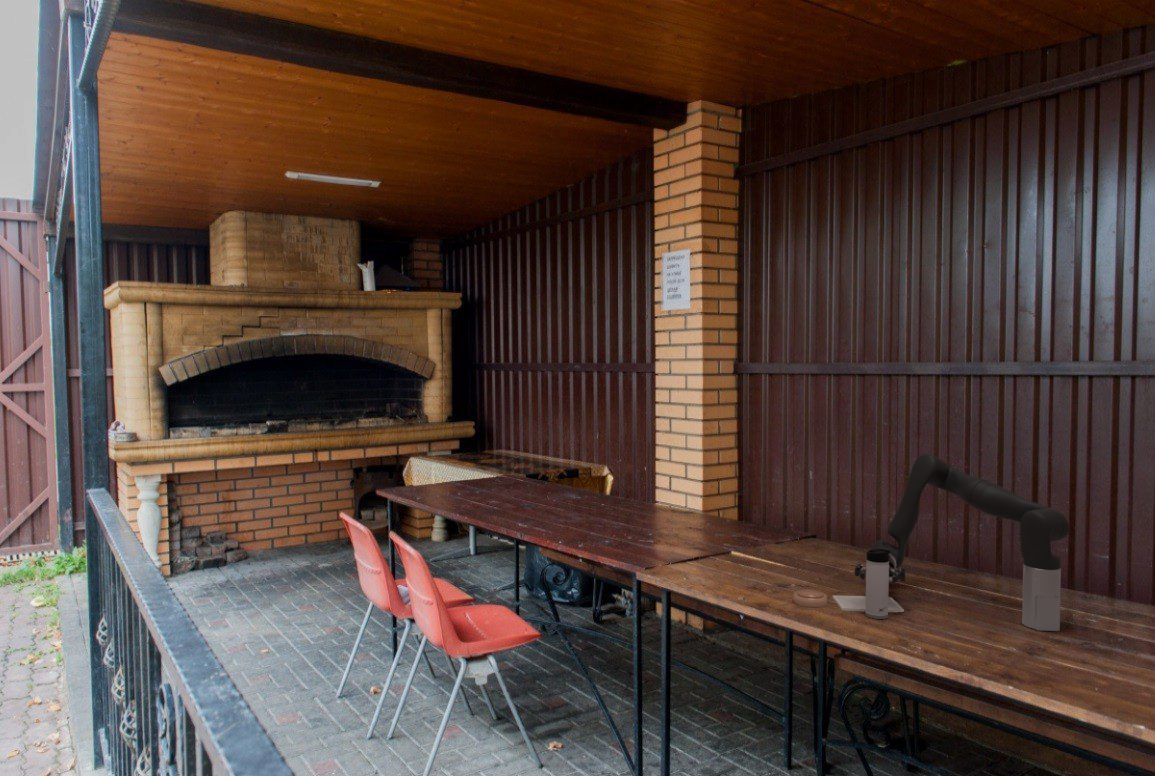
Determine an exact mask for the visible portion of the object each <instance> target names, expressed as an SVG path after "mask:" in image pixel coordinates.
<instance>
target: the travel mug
mask: <svg viewBox="0 0 1155 776" xmlns="http://www.w3.org/2000/svg"><path fill="white" fill-rule="evenodd" d="M889 553H891V552H890V550H886V549H873V550H871V549H869V550H868V551H866V560H865V567H866V571H865V574H866V577H865V596H866V608H865V609H866V610H865V611H864V612H865V616H866V617H867V618H869V617H870V618H869V619H872V618H874V619H873V620H878V619H883V620H887V619H888V618H889V612H888V597H889V584H890V580H889V559H888V558H889ZM886 618H887V619H886Z"/></svg>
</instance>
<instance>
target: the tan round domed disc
mask: <svg viewBox="0 0 1155 776" xmlns="http://www.w3.org/2000/svg"><path fill="white" fill-rule="evenodd" d="M793 603H794V604H796V605H798V606H800V607H806V608H823V607H826V606H827V605H828V595H827V594H826V593H824V592H822V591H820V590H818V589H817V590H816V589H813V588H812V589H811V588H810V589H809V588H806V589H805V588H804V589H798V590H796V591H794V592H793Z"/></svg>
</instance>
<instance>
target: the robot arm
mask: <svg viewBox="0 0 1155 776" xmlns="http://www.w3.org/2000/svg"><path fill="white" fill-rule="evenodd" d="M909 473H910V474H909V477H908V479H907V482H906V486H905V488H904V492H903V495H902V498H901V500H900V503H899V506H898V508H897V510H896V512H895V514H894V515H893V518H892V520H891V522H890V524H889V525H888V527H887V529H886V530H887V534H888V535H889V536H890V537H891V538H893V539H894V540H895V541H896V542H897V546H896V545H893V544H892V543H890V542H887V541H886V540H884V539H883V540H882V539H879V540H876V541H875V542H873V543H872V545H871V547H870V550H873V549H886V550H890V552H891V553H889V558H888V559H889V581H891V582H892V584H896V583H898V582H899V580H900V581H901V582H906V568H904V567H902V568H900V567H901V566H902V565H903V563H904V561H905V560H904V559H905V555H906V549H907V545H908V541H909V538H910V537H911V535H912V533H913V531H914V529H915V527H916V525H917V523H918V520H919V515H920V514H919V513H920V504H921V496H922V493H923V490H924V489H925V487H926V485H927V484H928V485H929V486H932V487H935V488H938V489H941V490H944V491H946V492H949V493H952V494H954V495H955V496H957V497H958V498H959V499H961V500H962V501H964V503H966V504H968V505H969V506H971V507H973V508H975V509H976V510H979V511H980V512H983V513H984V514H988V515H990V516H994V517H997V518H1002V519H1004V520H1005V519H1006V520H1010V521H1013V522H1014V521H1015V522H1019V523H1020V524H1019V543H1020V554H1021V556H1022V559H1023V563H1022V564H1023V565H1022V566H1023V567H1022V568H1023V570H1022V602H1021V603H1022V604H1021V605H1022V610H1021V611H1022V614H1021V618H1022V620H1021V624H1022V625H1023V626H1025V627H1027V628H1029V629H1034V630H1036V631H1045V632H1060V630H1061V628H1060V627H1061V600H1062V599H1061V579H1062V578H1061V576H1062V573H1061V571H1062V560H1061V558H1060V557H1059V556H1058V555H1055V554H1053V553H1052V550H1051V549H1052V548H1051V545H1052V544H1051V543H1053V542H1057V541H1061V540H1063V539H1065V538H1066V537H1067V536H1068V535H1069V534H1070V531H1071V530H1070V528H1071V527H1070V522H1069V521H1068V519H1067V517H1066V516H1065V515H1064V514H1063V513H1062V512H1060V511H1059V510H1057V509H1054V508H1052V507H1049V506H1045V505H1043V504H1039V503H1038V502H1034V501H1031V500H1029V499H1027V498H1024V497H1022V496H1020V495H1018V494H1016V493H1015V492H1012V491H1010V490H1008V489H1006V488H1004V487H1002V486H1000V485H997V483H996V484H995V483H994V482H992V481H990V480H987V479H985V478H982V477H978V476H974V475H970V474H966V473H965V472H962V471H961V470H959V469H957V468H956V467H955V466H952V465H951V464H949V463H948V462H947V461H945V460H943V459H942V458H940V457H938V456H936V455H934V454H932V453H923V454H921V455H919V456H918V457H917V458H916V459H915V461H914V463H913V465H912V467H911V471H910V472H909ZM899 568H900V569H899ZM897 569H899V570H897ZM854 576H856V577H859V578H860V579H861V580H863V581H864V580H866V566H864V565H863V564H862V563H857V564H856V565H855V566H854Z"/></svg>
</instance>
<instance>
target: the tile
mask: <svg viewBox="0 0 1155 776" xmlns="http://www.w3.org/2000/svg"><path fill="white" fill-rule="evenodd" d="M832 600H833V601H834V602H835V603H836V604H837V606H838V607H839V608H840V610H841V611H842V612H865V610H866V609H865V608H866V595H865V596H864V595H863V596H862V595H832ZM898 612H904V613H905V609H904V608H903V607H902V606H901V605H900V604H899V603H898V602H897V601H896V600H894V599H893V597H891V596H888V613H898Z"/></svg>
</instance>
